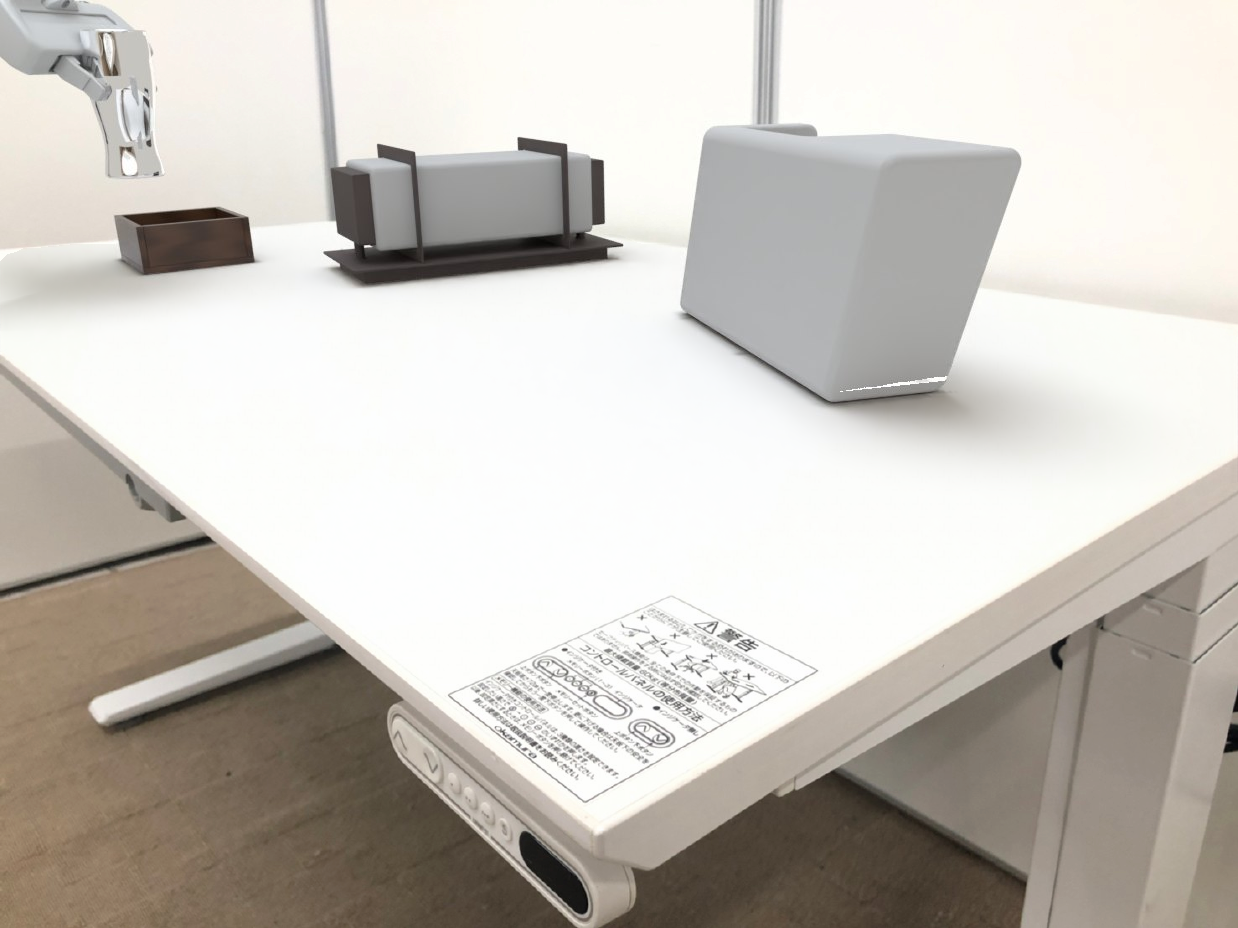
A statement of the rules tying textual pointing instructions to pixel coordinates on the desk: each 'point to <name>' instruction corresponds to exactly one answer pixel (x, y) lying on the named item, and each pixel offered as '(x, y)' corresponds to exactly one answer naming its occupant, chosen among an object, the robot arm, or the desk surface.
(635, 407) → the desk surface
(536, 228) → the light fixture
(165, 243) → the crate
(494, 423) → the desk surface
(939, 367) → the grey tapered block
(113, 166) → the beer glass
